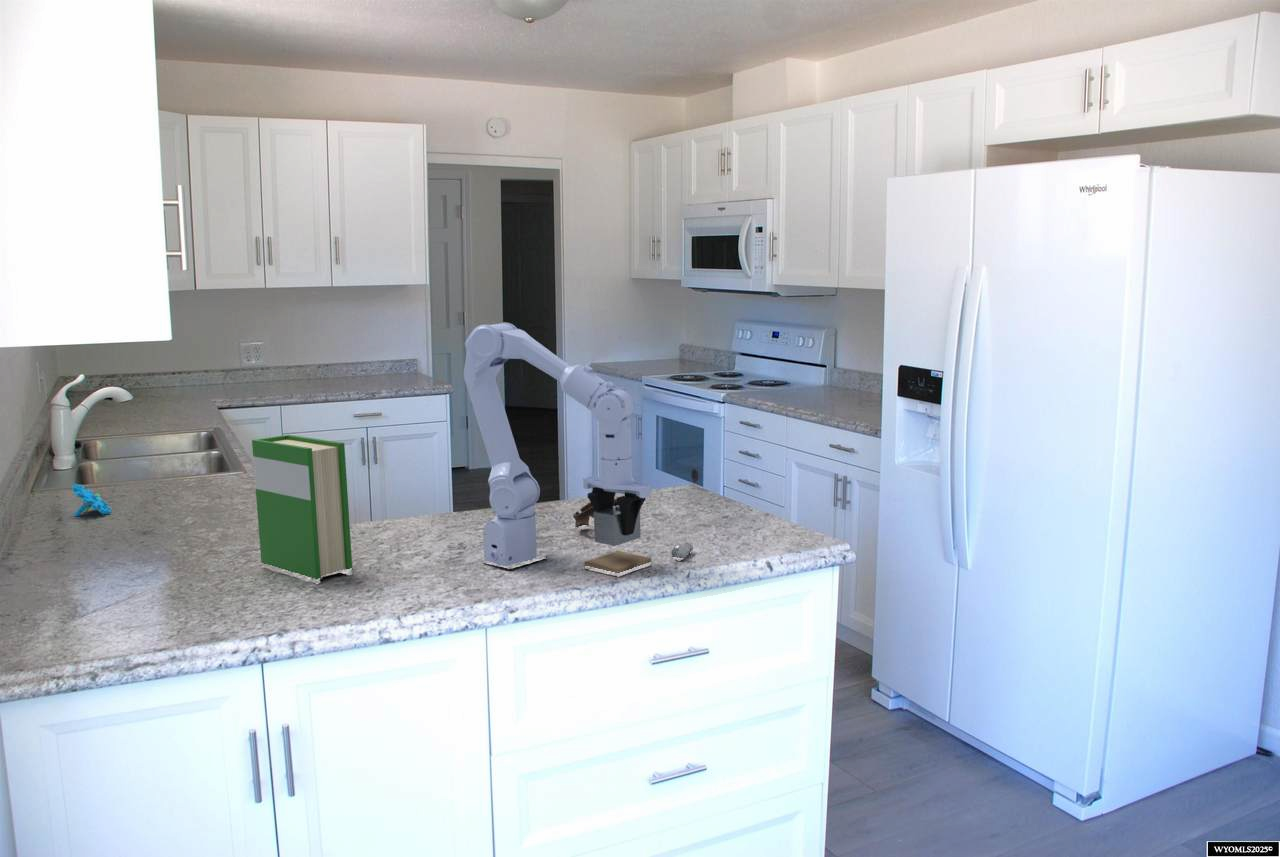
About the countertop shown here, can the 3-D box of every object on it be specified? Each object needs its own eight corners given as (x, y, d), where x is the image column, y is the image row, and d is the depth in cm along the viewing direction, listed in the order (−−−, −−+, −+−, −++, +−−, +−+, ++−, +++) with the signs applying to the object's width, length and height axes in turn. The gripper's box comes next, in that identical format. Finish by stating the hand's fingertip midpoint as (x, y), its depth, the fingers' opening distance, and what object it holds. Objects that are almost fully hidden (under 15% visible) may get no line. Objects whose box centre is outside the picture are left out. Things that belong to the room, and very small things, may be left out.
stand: (617, 577, 176) (617, 569, 175) (584, 569, 181) (584, 561, 181) (651, 565, 182) (650, 557, 182) (618, 558, 188) (618, 550, 187)
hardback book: (352, 574, 181) (344, 442, 177) (316, 584, 175) (307, 448, 171) (297, 559, 192) (288, 434, 188) (261, 568, 186) (251, 440, 182)
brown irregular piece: (614, 542, 201) (592, 508, 200) (582, 557, 206) (560, 523, 206) (641, 515, 210) (620, 482, 210) (610, 529, 216) (589, 497, 215)
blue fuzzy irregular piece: (106, 511, 228) (69, 482, 226) (86, 531, 227) (50, 502, 225) (119, 507, 239) (85, 480, 237) (101, 526, 238) (66, 499, 236)
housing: (614, 546, 177) (613, 513, 176) (594, 541, 180) (593, 510, 179) (640, 537, 182) (639, 506, 181) (620, 533, 185) (620, 503, 184)
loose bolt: (685, 562, 184) (685, 547, 184) (671, 560, 185) (671, 546, 185) (695, 553, 190) (695, 539, 189) (681, 552, 191) (681, 538, 190)
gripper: (661, 458, 177) (662, 533, 179) (601, 450, 186) (603, 521, 188) (634, 464, 172) (636, 541, 174) (574, 455, 181) (576, 529, 183)
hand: (617, 532), depth 181 cm, fingers closed on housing, 5 cm apart
